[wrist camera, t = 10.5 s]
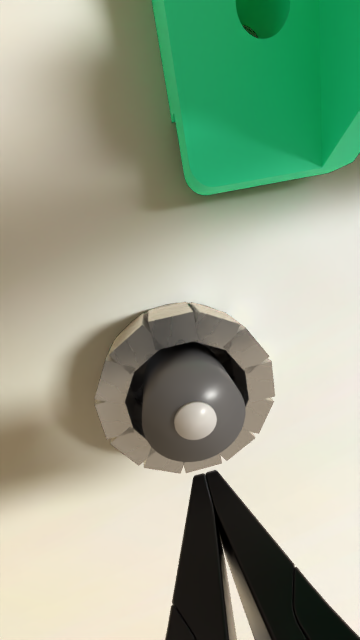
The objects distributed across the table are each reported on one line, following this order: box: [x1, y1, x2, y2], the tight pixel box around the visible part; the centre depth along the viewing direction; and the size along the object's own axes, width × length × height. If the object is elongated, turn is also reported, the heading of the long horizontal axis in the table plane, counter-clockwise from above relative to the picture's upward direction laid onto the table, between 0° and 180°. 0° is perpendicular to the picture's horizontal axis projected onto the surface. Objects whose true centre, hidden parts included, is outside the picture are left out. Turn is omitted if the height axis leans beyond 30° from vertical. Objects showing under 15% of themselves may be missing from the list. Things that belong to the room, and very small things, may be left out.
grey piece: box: [95, 302, 275, 473], centre depth 14 cm, size 10×10×3 cm
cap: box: [142, 342, 246, 462], centre depth 13 cm, size 5×5×4 cm
